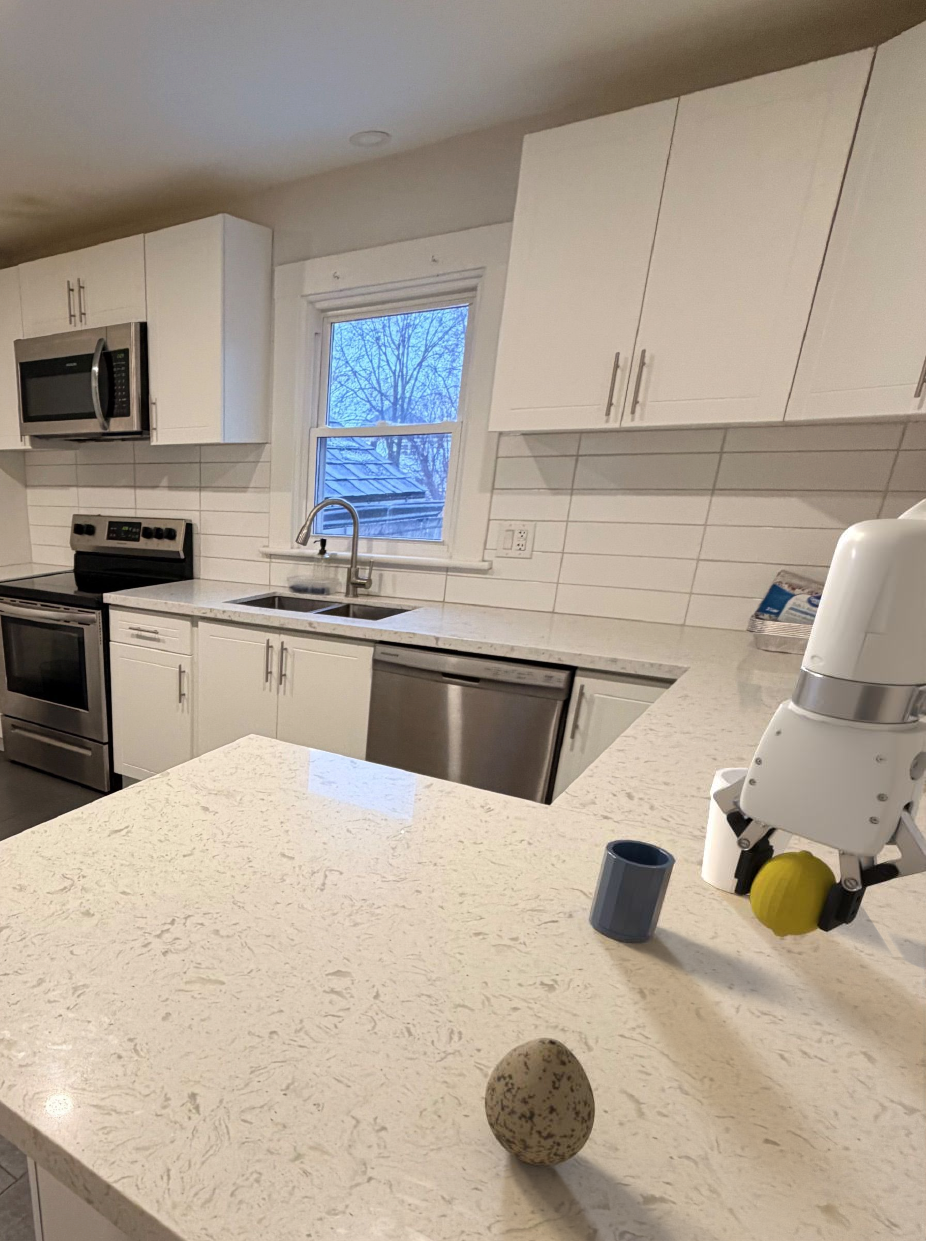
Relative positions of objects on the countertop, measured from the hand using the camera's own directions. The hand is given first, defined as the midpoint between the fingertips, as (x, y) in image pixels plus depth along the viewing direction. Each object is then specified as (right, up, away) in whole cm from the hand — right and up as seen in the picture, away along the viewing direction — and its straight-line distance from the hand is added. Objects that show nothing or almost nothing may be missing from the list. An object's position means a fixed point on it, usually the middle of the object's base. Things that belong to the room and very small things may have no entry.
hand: (788, 905), depth 65 cm
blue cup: (-2, -5, +21) cm, 22 cm away
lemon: (0, -3, +1) cm, 3 cm away
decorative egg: (-24, -17, -7) cm, 31 cm away
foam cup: (+16, -2, +30) cm, 35 cm away
